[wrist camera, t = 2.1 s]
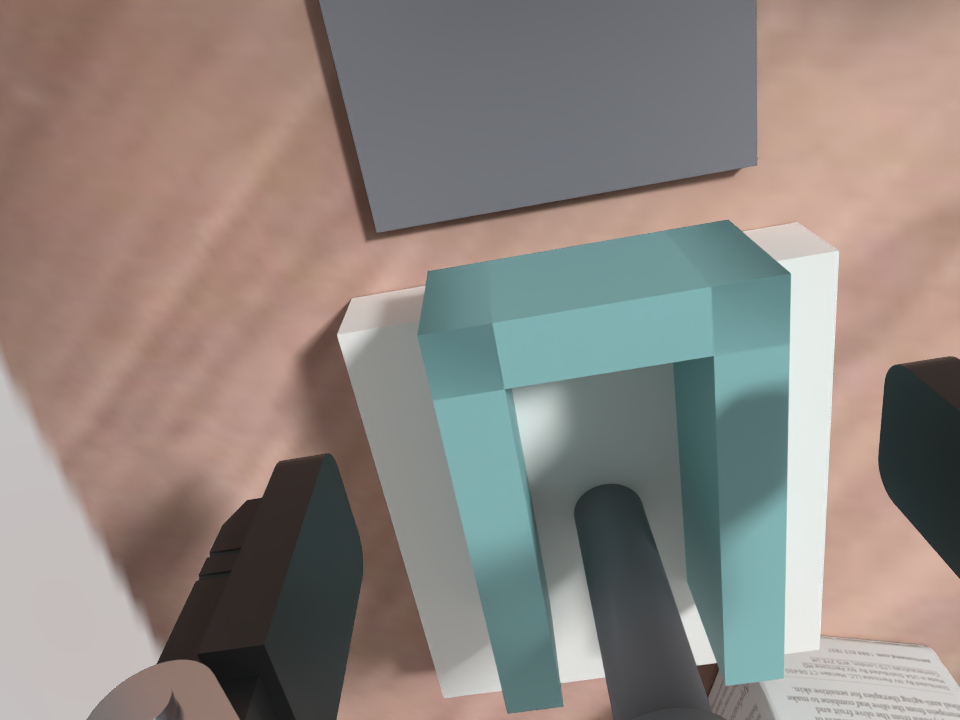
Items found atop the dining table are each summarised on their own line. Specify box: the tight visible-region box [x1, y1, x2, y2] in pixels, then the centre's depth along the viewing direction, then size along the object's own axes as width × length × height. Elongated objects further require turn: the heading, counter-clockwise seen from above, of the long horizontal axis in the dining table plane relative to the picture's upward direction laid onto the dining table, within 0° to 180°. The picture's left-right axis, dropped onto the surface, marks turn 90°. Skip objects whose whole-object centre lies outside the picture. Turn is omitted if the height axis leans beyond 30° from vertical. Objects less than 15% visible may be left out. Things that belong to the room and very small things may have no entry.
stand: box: [337, 222, 839, 720], centre depth 15 cm, size 11×10×9 cm
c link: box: [417, 220, 791, 714], centre depth 14 cm, size 9×6×3 cm, turn 10°
